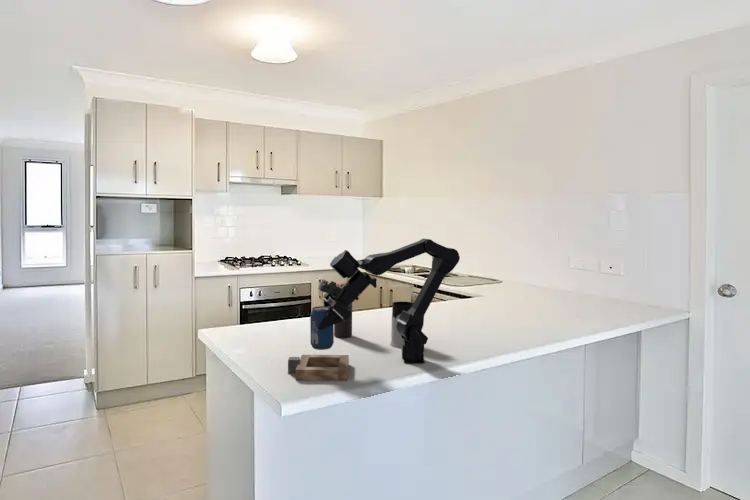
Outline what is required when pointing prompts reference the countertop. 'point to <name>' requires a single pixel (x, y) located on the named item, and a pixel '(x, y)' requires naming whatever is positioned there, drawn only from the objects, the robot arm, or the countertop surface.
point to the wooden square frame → (319, 367)
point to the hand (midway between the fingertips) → (317, 326)
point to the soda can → (320, 337)
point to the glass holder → (396, 312)
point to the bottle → (343, 326)
